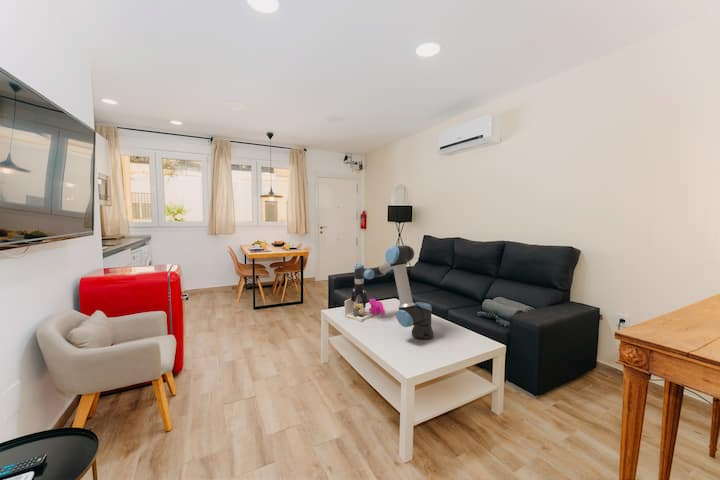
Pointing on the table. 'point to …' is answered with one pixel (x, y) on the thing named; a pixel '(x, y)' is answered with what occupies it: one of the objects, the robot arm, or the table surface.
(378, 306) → the magenta lumpy block
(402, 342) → the table surface
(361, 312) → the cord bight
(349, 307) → the shelf
